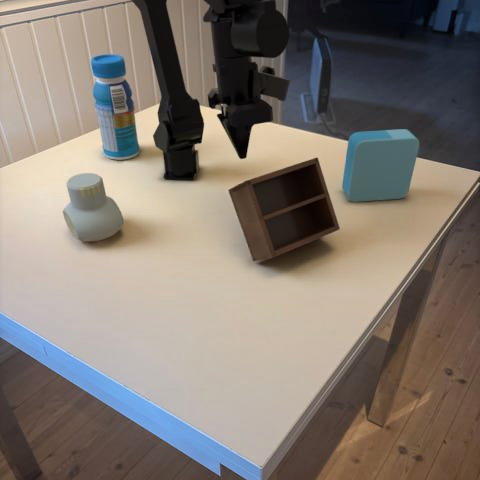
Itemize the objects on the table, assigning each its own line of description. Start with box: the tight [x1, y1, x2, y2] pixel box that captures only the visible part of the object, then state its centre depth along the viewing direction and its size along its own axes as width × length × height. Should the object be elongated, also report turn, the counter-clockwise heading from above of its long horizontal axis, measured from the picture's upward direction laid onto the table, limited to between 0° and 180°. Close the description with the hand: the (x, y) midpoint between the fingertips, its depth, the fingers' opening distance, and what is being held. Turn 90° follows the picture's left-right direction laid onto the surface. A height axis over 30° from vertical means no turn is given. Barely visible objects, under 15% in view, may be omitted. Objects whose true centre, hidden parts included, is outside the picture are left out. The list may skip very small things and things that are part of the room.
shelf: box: [227, 157, 341, 262], centre depth 78 cm, size 6×14×12 cm
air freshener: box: [62, 172, 125, 242], centre depth 84 cm, size 11×8×10 cm
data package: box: [341, 128, 420, 203], centre depth 92 cm, size 12×4×12 cm, turn 97°
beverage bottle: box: [90, 53, 140, 161], centre depth 106 cm, size 8×8×20 cm
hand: (242, 158), depth 83 cm, fingers closed
